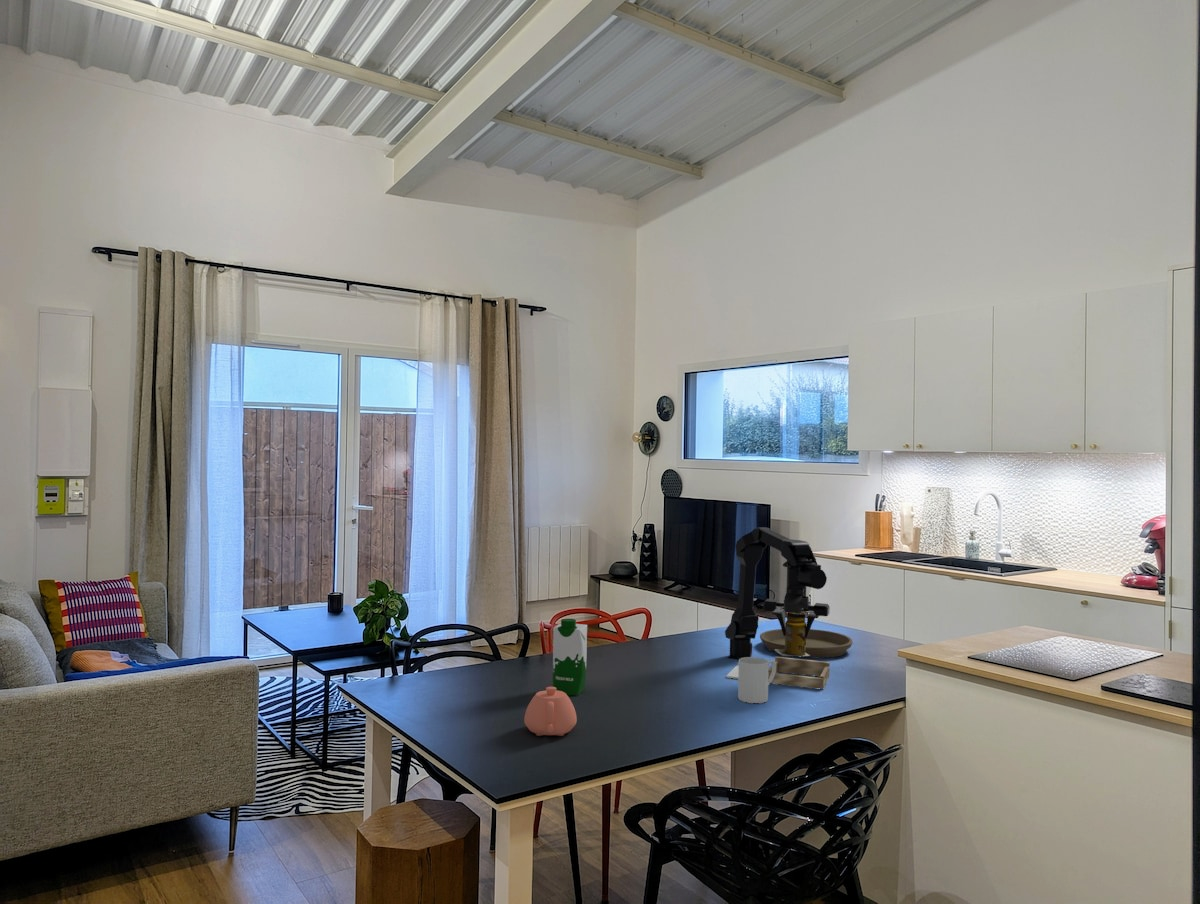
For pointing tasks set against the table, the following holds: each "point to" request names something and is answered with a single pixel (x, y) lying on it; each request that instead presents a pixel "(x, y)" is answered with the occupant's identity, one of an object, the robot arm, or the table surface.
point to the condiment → (794, 635)
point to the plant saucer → (811, 642)
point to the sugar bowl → (550, 713)
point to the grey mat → (734, 673)
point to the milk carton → (569, 657)
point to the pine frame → (800, 672)
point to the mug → (754, 679)
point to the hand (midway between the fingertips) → (795, 636)
